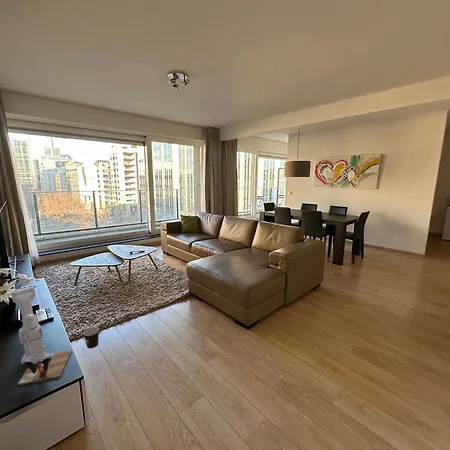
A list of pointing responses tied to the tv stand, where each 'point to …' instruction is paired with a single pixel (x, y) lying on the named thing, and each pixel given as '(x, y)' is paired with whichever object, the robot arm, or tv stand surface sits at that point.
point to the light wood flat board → (53, 370)
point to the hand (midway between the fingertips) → (40, 371)
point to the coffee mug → (91, 336)
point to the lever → (41, 367)
